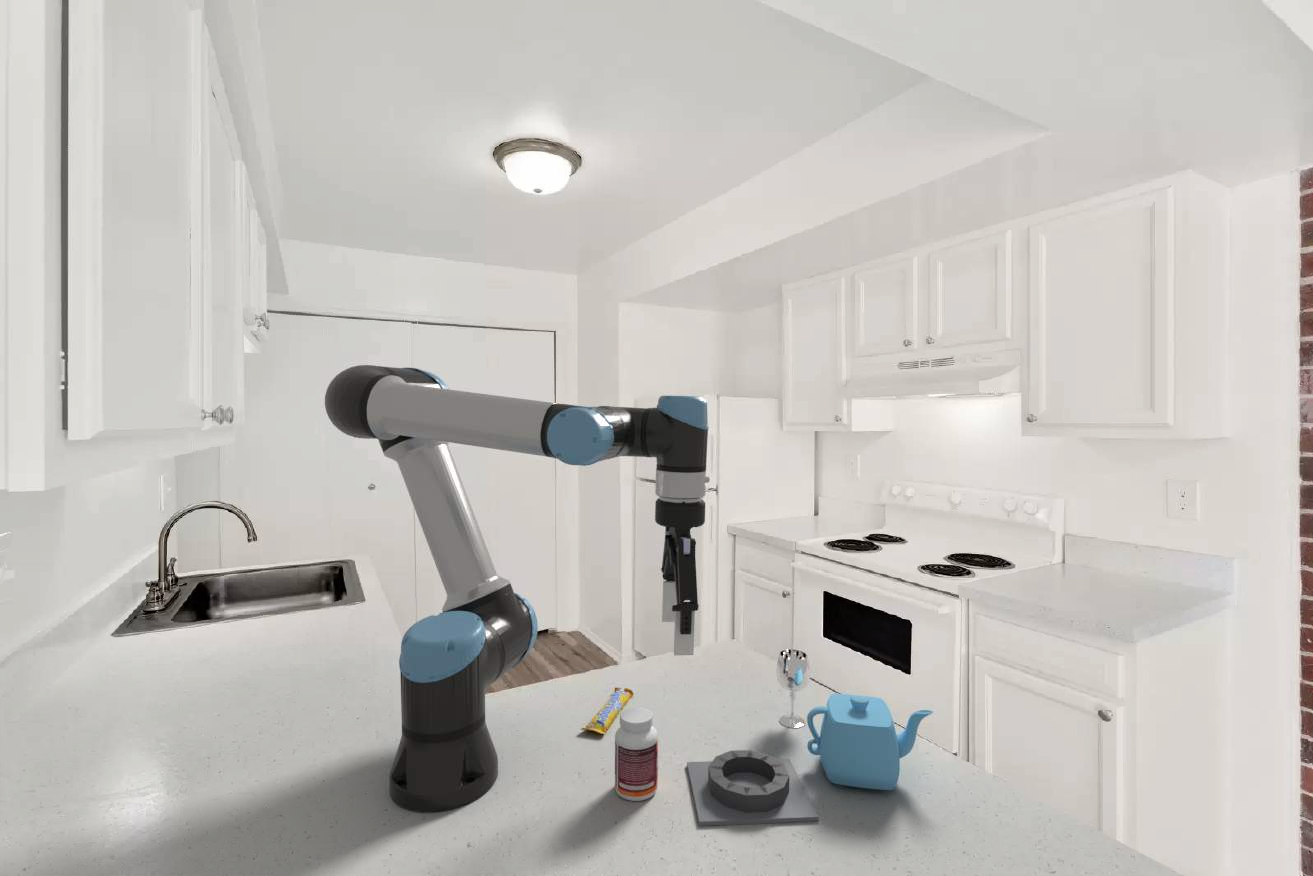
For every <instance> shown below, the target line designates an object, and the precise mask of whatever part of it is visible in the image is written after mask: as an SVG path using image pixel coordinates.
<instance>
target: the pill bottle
mask: <svg viewBox="0 0 1313 876" xmlns="http://www.w3.org/2000/svg"><path fill="white" fill-rule="evenodd" d="M653 718H654V717H653V713H652V711H650V710H649V709H648V708H647V709H646V708H643V707H630V708H626V709H624V710H622V711H621V712H620V713H619V727H618V728H617V729H616V732H615V735H614V789H615V792H616V793H617V795H618V796H619V797H621V798H622V799H624V800H627V801H632V802H640V801H644V800H648V799H650V798H652V797H653V796H654V795H655V793H656V792H657V791H658V784H659V783H658V781H659V779H658V773H659V772H658V771H659V770H658V768H659V764H658V763H659V761H658V760H659V758H658V756H659V755H658V753H659V752H658V751H659V750H658V749H659V748H658V746H659V743H658V742H659V740H658V739H659V738H658V736H659V735H658V731H657V729H656V728H655V727H654V726H653V722H654V721H653Z"/></svg>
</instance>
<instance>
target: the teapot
mask: <svg viewBox="0 0 1313 876" xmlns="http://www.w3.org/2000/svg"><path fill="white" fill-rule="evenodd" d="M933 713H934V711H933V710H929V709H920V710H915V711H914V712H913V713H912V714H911V715H910V716H909V718H908V720H907V722H906V723H907V724H906V727H905V728H904V730H903V731H901V732H900V733H897V731H896V726H895V723H894V719H893V716H892V713H891V710H890V708H889V706H888V705H887V703H886V702H885V700H883V699H882V698H881V697H875V696H868V695H867V696H866V695H860V694H859V695H858V694H857V695H856V694H850V693H849V694H848V693H832V694H830V695H829V696H828V699H827V703H826V706H822V705H820V706H816V707H815V706H814V707H813V708H812V709H810V711H808V714H807V717H806V722H807V726H808V729H809V732H810V733H811V736H812V737H813V738H812V739H810V740H808V742H807V745H806V747H807V750H808V752H809V753H810V754H811V755H814V756H819V757H820V761H821V764H822V767H823V770H824V772H825V776H826V777H827V780H829V782H830V783H833V784H836V785H840V786H846V787H853V788H859V789H860V788H861V789H868V790H881V791H893V790H894V789H895V788H896V786H897V784H898V781H899V776H900V770H901V769H900V767H901V765H900V763H901V762H900V759H902V758H904V757H906V756H907V755H908V754H909V753H911V751H912V750H913V748H914V745H915V743H916V739H917V733H918V729H919V726H920V724H921V722H922V721H923V720H924V719H925V718H926V717H929V715H932V714H933ZM820 714H823V716H822V721H821V727H820V732H819V733H818V731H817V729H816V727H815V724H814V717H816V716H817V715H820ZM813 744H814V745H816V746H817V747H814V746H813Z"/></svg>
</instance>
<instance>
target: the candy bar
mask: <svg viewBox="0 0 1313 876" xmlns="http://www.w3.org/2000/svg"><path fill="white" fill-rule="evenodd" d="M621 689H622V688H621V687H614V691H613V692H614V693H612V695H611V696H610V697H609V699H608V700H607V702H606V703H604V705H603V707H602V708H600V710H599V711H598V712H597V713H596V714H595V716H594V717H593V718H592V719H591V720H590V721H589V722H588V723H587V725H586V726H585V727H582V728H580V730H583V731H594V732H595V733H597V734H600V735H601V734H602V735H605V734H606V733H607V731H608V730H609V729H610V727H611V726H612V724H613V723H614V722H615V720H616V719H617V717H618V716H619V715H620V713H621V712H622V711H623V709H624V708H625V707H624V706H627V704H628V703H627V702H629V701H630V700H631V698H632V697H634V692H633V690H632V689H630V688H628V687H627V688H624V689H623V690H621ZM629 699H630V700H629ZM628 700H629V701H628ZM623 707H624V708H623ZM621 710H622V711H621ZM620 711H621V712H620ZM619 712H620V713H619ZM618 714H619V715H618ZM617 715H618V716H617ZM616 716H617V717H616ZM615 718H616V719H615ZM614 719H615V720H614ZM613 721H614V722H613Z"/></svg>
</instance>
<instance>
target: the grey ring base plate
mask: <svg viewBox="0 0 1313 876" xmlns="http://www.w3.org/2000/svg"><path fill="white" fill-rule="evenodd" d="M686 768H687V773H688V777H689V782H690V786H691V792H692V797H693V802H694V806H695V807H694V808H695V810H696V817H697V821H698V825H699V827H706V826H707V827H708V826H730V825H731V826H732V825H737V826H738V825H757V824H758V825H759V824H779V823H781V824H782V823H802V822H803V823H804V822H819V815H818V812H817V810H816V809H815V806H814V804H813V802H812V800H811V799H810V797H809V795H808V793H807V790H806V789H805V787H804V785H803V783H802V781H801V779H800V777H799V775H798V773H797V771H796V768H795V767H794V765H793V763H792V761H791V759H790V758H775V757H774V756H772V755H771V754H767V753H763V752H759V751H757V750H751V749H741V750H740V749H739V750H738V749H737V750H729V751H726V752H724V753H722V754H719V755H715V757H713V760H710V761H708V760H707V761H687V762H686Z"/></svg>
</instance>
